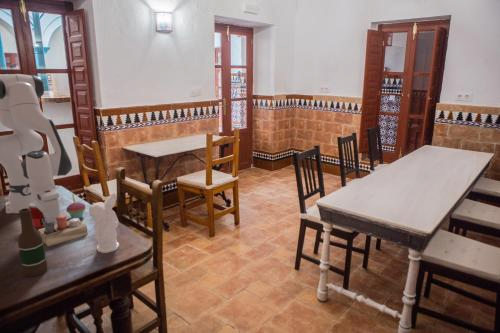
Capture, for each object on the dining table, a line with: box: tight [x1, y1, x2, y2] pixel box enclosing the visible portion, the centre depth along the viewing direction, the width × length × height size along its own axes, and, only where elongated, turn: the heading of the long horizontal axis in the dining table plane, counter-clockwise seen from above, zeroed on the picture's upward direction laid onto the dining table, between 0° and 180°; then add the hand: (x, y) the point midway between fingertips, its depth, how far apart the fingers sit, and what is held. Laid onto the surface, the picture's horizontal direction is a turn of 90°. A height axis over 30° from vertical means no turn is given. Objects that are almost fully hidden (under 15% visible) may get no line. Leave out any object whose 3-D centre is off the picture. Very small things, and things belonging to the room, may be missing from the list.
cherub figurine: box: [88, 193, 120, 254], centre depth 145 cm, size 12×12×22 cm
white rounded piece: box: [68, 218, 81, 227], centre depth 159 cm, size 4×4×6 cm
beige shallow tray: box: [37, 220, 89, 248], centre depth 156 cm, size 11×16×4 cm
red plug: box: [54, 214, 67, 231], centre depth 155 cm, size 4×4×6 cm
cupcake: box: [66, 192, 87, 219], centre depth 175 cm, size 9×8×12 cm
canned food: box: [29, 202, 45, 229], centre depth 166 cm, size 8×8×11 cm
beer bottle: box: [17, 208, 48, 278], centre depth 127 cm, size 8×8×24 cm
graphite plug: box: [43, 219, 55, 235], centre depth 152 cm, size 4×4×6 cm
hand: (48, 221), depth 151 cm, fingers closed, pressing on graphite plug
